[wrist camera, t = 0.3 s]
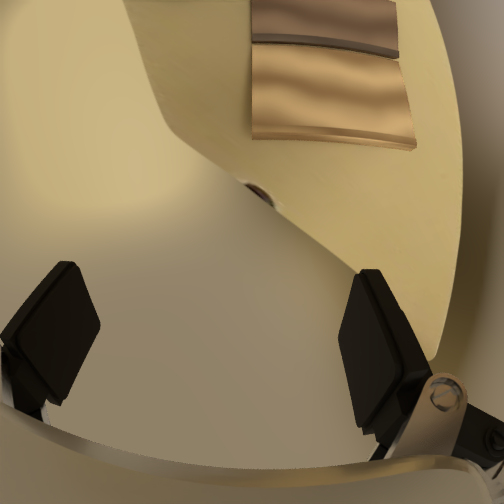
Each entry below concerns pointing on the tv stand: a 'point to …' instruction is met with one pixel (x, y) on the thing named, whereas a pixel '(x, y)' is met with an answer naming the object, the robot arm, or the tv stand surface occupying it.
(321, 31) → the walnut board
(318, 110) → the oak plank
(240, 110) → the tv stand surface
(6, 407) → the robot arm
